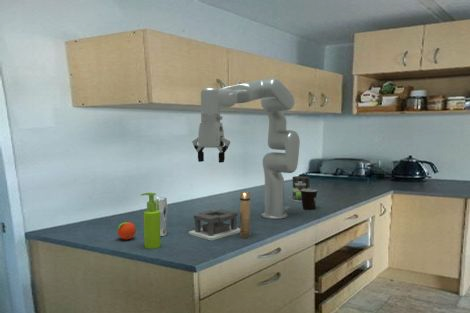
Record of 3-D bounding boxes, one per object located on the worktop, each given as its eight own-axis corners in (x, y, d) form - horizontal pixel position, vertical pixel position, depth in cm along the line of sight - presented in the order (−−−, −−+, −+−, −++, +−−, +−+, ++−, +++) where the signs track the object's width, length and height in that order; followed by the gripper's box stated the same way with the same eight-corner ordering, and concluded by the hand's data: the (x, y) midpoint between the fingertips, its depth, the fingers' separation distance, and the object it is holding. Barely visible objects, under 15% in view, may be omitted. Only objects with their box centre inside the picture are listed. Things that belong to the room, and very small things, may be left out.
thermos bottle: (245, 234, 158) (244, 191, 157) (252, 236, 155) (252, 192, 154) (238, 236, 155) (237, 192, 154) (245, 238, 152) (245, 193, 151)
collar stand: (220, 225, 173) (220, 208, 172) (243, 231, 163) (242, 212, 162) (188, 234, 160) (188, 214, 159) (211, 240, 150) (210, 220, 149)
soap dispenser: (147, 243, 147) (145, 191, 146) (163, 244, 145) (162, 192, 144) (139, 247, 142) (137, 194, 140) (155, 249, 140) (154, 194, 138)
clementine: (123, 243, 147) (123, 225, 147) (111, 240, 151) (111, 222, 151) (139, 238, 154) (139, 220, 153) (128, 235, 158) (127, 218, 157)
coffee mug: (309, 206, 213) (309, 188, 213) (320, 209, 206) (320, 190, 205) (293, 209, 207) (293, 190, 206) (304, 211, 200) (304, 192, 199)
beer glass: (168, 236, 157) (168, 199, 156) (151, 237, 155) (150, 200, 154) (166, 231, 163) (166, 196, 162) (150, 233, 161) (149, 197, 160)
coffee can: (308, 202, 226) (308, 178, 225) (291, 201, 229) (291, 177, 228) (310, 199, 235) (310, 176, 234) (293, 198, 238) (293, 175, 237)
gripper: (234, 119, 153) (234, 161, 155) (197, 119, 162) (198, 160, 163) (224, 118, 147) (225, 163, 148) (187, 119, 155) (188, 162, 156)
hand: (211, 161), depth 156 cm, fingers open, 9 cm apart
